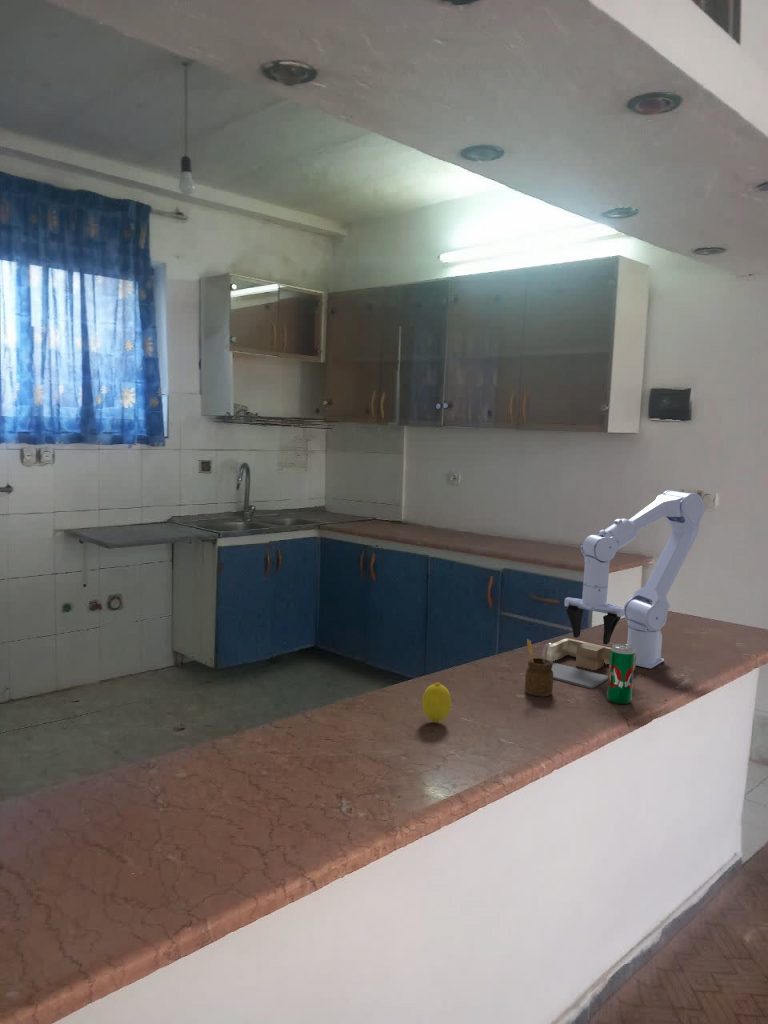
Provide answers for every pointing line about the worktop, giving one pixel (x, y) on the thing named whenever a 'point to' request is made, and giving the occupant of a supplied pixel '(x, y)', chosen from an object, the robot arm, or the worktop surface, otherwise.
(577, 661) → the wooden cube
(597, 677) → the rubber mat
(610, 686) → the soda can
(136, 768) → the worktop surface
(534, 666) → the utensil holder
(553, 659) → the beige angled piece
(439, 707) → the lemon
